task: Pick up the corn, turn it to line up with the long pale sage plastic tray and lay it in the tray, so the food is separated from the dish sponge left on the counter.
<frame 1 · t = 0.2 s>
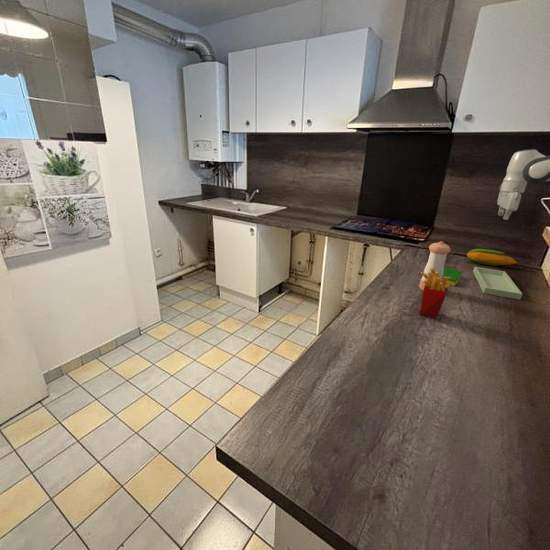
hand: (502, 217, 139), 22 cm above the worktop, tool pointing down, fingers open, 8 cm apart
tray: (494, 284, 120), on the worktop
corn: (488, 265, 142), on the worktop
dish sponge: (448, 279, 124), on the worktop
french fries: (424, 314, 96), on the worktop
pepper shaker: (428, 289, 114), on the worktop
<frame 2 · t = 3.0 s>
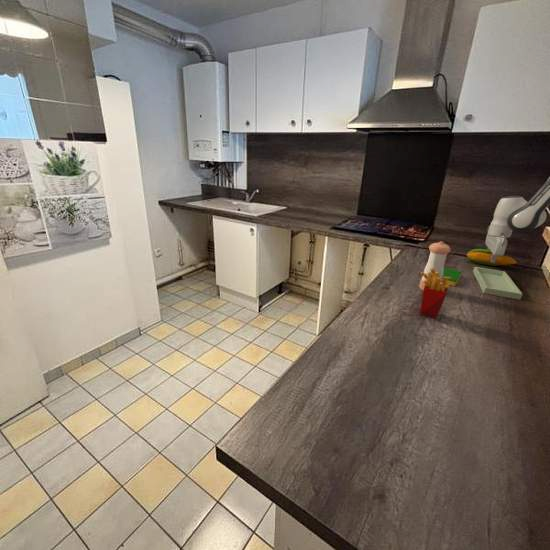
hand: (490, 259, 141), 3 cm above the worktop, tool pointing down, fingers closed on corn, 7 cm apart
corn: (488, 265, 142), on the worktop, touching gripper
everything else where it was.
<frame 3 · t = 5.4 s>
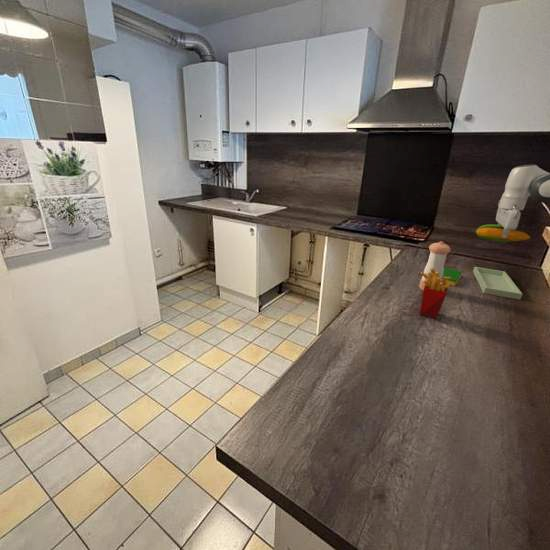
hand: (501, 235, 131), 16 cm above the worktop, tool pointing down, fingers closed on corn, 7 cm apart
corn: (499, 241, 132), point 13 cm above the worktop, touching gripper
everything else where it was.
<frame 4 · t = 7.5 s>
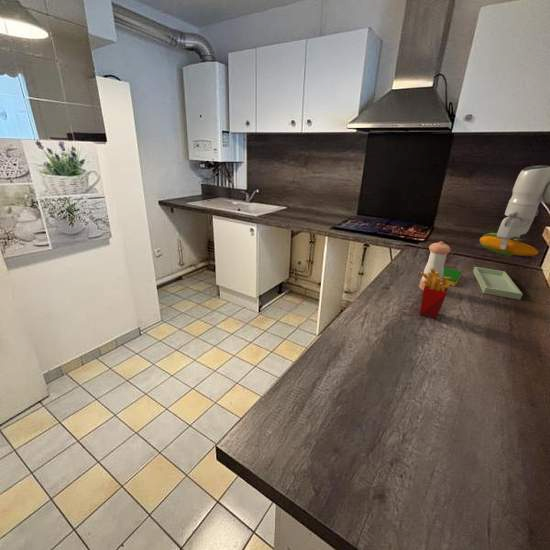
hand: (507, 247, 114), 16 cm above the worktop, tool pointing down, fingers closed on corn, 7 cm apart
corn: (504, 254, 115), point 13 cm above the worktop, touching gripper
everything else where it was.
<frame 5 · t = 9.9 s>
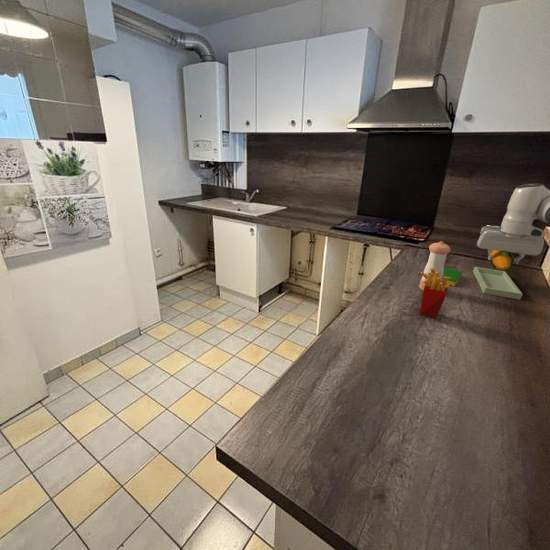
hand: (502, 261, 116), 10 cm above the worktop, tool pointing down, fingers closed on corn, 7 cm apart
corn: (499, 268, 117), point 7 cm above the worktop, touching gripper
everything else where it was.
when the fingers open (3 cm above the worktop, at t = 12.1 s): corn stays where it is, resting on tray.
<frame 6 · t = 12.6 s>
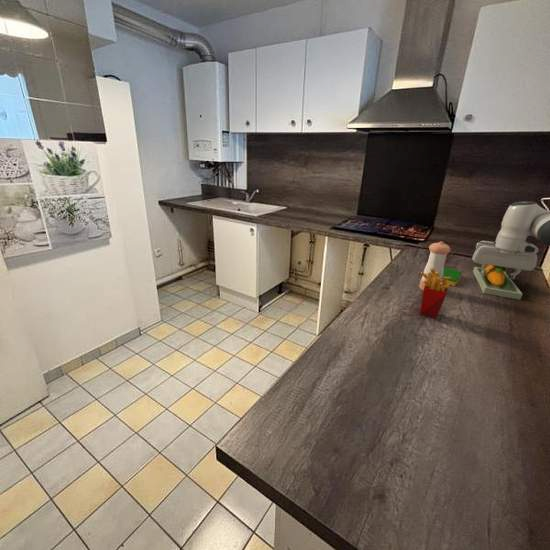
hand: (497, 276, 118), 4 cm above the worktop, tool pointing down, fingers open, 8 cm apart
corn: (494, 283, 120), resting on tray
everything else where it was.
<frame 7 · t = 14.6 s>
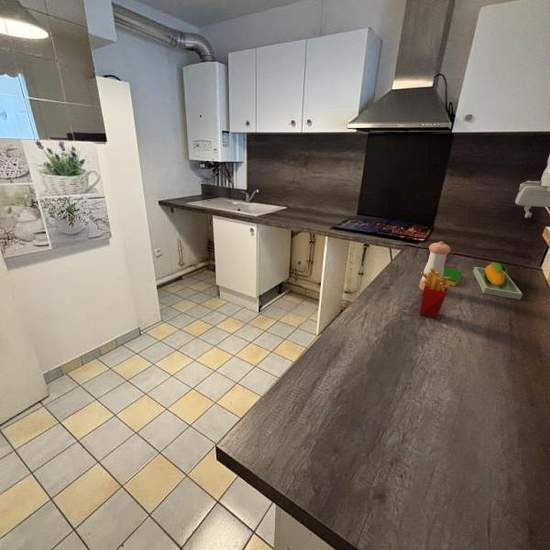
hand: (542, 218, 114), 27 cm above the worktop, tool pointing down, fingers open, 8 cm apart
nothing on the worktop moved.
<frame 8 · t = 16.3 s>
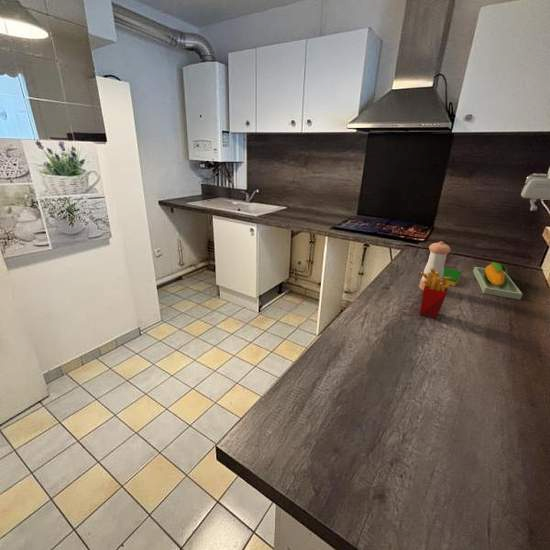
hand: (547, 211, 114), 29 cm above the worktop, tool pointing down, fingers open, 8 cm apart
nothing on the worktop moved.
at the end: corn inside the target area on the tray (0.1 cm from its centre), point 0.2 cm above the tray's base; dish sponge moved 0.2 cm from its start; the gripper is holding nothing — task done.
